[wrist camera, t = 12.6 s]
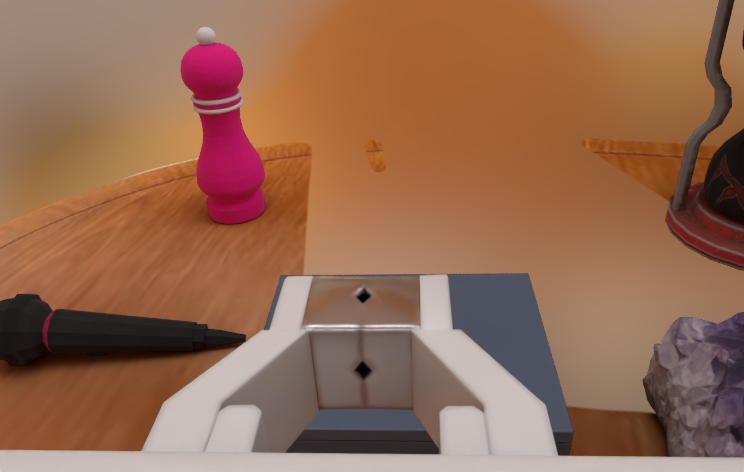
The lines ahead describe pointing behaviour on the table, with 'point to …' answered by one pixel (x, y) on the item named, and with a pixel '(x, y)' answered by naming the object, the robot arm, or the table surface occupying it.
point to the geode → (700, 387)
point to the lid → (487, 329)
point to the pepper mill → (223, 132)
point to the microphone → (93, 332)
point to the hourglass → (713, 173)
